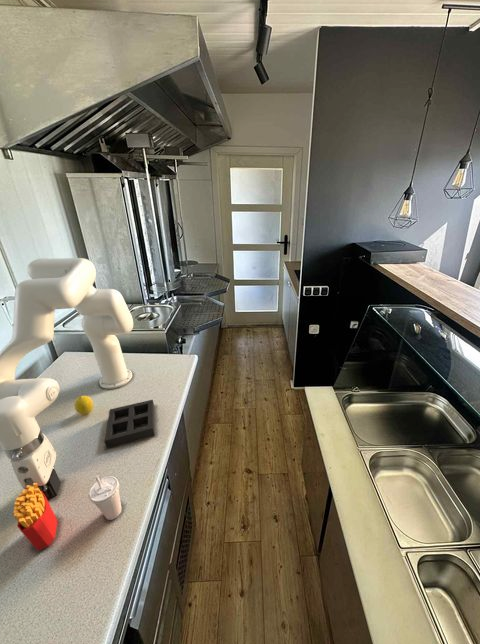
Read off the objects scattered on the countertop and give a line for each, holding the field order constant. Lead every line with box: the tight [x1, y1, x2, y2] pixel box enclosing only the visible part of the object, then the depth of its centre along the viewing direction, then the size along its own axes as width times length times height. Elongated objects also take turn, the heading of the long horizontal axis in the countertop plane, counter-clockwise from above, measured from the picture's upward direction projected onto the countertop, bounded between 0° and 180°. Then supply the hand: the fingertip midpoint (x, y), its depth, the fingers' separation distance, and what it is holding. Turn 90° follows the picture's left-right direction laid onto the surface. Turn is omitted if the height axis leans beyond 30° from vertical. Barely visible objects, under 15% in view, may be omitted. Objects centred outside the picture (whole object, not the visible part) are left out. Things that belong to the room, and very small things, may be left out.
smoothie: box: [88, 474, 122, 521], centre depth 70 cm, size 6×6×14 cm
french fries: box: [12, 483, 58, 551], centre depth 66 cm, size 9×4×13 cm, turn 25°
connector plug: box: [38, 468, 62, 497], centre depth 77 cm, size 4×4×6 cm
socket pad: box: [103, 399, 156, 449], centre depth 98 cm, size 14×14×4 cm
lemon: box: [74, 395, 94, 416], centre depth 102 cm, size 6×6×8 cm
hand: (49, 489), depth 78 cm, fingers closed on connector plug, 4 cm apart
